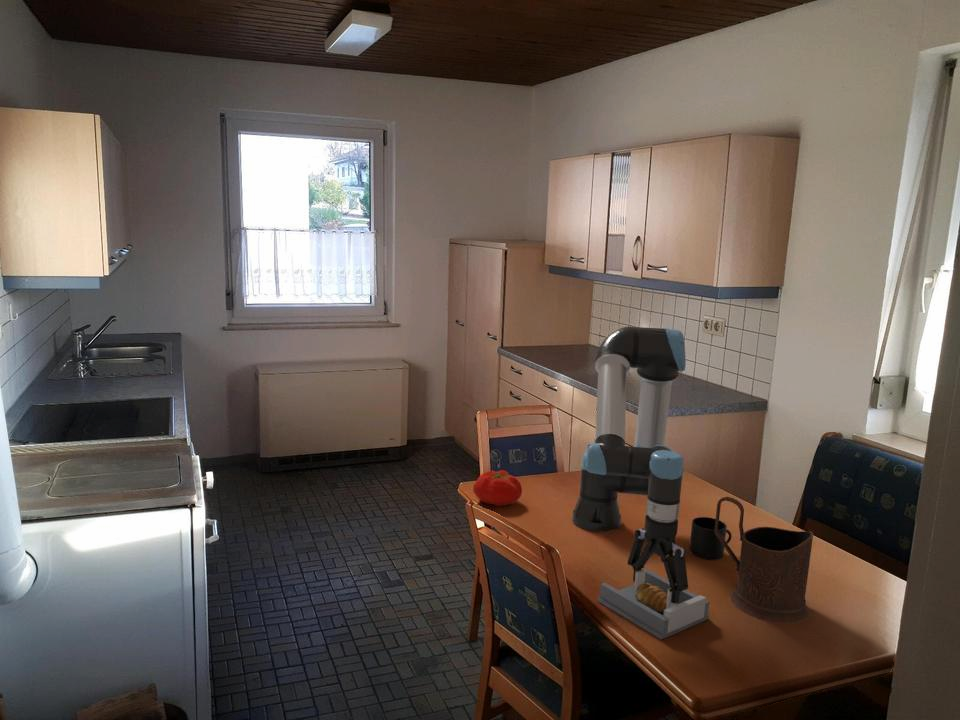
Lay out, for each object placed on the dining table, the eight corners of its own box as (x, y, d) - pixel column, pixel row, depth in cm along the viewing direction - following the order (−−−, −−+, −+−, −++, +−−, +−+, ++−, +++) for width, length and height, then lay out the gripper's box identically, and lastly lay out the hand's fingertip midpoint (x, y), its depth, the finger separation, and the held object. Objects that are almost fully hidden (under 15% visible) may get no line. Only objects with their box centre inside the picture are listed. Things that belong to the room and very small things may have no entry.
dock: (597, 601, 182) (599, 578, 180) (644, 584, 191) (646, 562, 190) (661, 639, 166) (663, 615, 165) (708, 618, 175) (711, 595, 174)
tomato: (507, 515, 233) (509, 485, 232) (464, 503, 242) (465, 474, 240) (529, 501, 245) (530, 473, 244) (487, 490, 254) (488, 463, 252)
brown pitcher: (802, 632, 171) (815, 531, 167) (699, 601, 184) (708, 506, 179) (814, 600, 187) (827, 506, 182) (718, 573, 199) (727, 485, 195)
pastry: (680, 610, 176) (682, 595, 176) (661, 617, 173) (662, 602, 172) (651, 593, 184) (652, 579, 183) (632, 600, 180) (633, 586, 179)
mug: (738, 559, 208) (741, 529, 207) (698, 561, 206) (701, 530, 204) (721, 545, 217) (724, 516, 216) (683, 546, 215) (686, 517, 214)
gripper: (616, 504, 180) (610, 589, 184) (689, 537, 163) (680, 630, 167) (637, 498, 185) (631, 581, 189) (710, 530, 167) (701, 620, 171)
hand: (654, 604), depth 178 cm, fingers closed on pastry, 9 cm apart
